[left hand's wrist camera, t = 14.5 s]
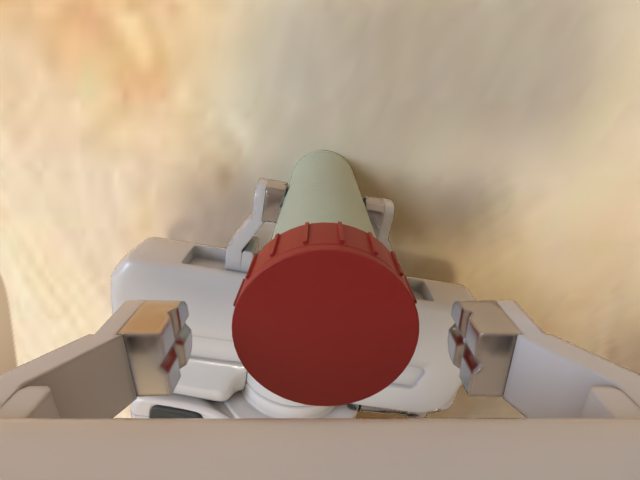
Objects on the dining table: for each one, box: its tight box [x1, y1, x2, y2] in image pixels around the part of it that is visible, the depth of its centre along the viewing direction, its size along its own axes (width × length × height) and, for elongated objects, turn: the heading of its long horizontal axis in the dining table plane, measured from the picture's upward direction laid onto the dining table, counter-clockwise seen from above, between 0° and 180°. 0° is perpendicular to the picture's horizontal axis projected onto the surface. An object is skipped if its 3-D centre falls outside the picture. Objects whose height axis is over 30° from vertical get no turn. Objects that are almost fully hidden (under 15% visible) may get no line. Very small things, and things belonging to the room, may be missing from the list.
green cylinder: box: [272, 150, 377, 240], centre depth 17 cm, size 4×4×16 cm
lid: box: [232, 221, 419, 406], centre depth 11 cm, size 5×5×2 cm
